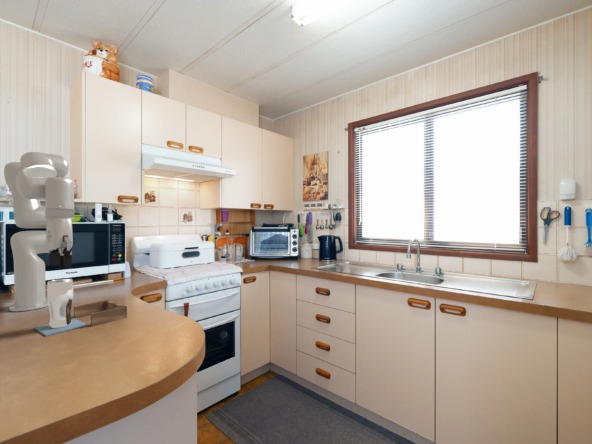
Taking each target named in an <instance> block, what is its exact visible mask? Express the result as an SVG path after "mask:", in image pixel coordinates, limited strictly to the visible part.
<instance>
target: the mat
mask: <svg viewBox="0 0 592 444" xmlns="http://www.w3.org/2000/svg"><path fill="white" fill-rule="evenodd" d="M71 319H72V324H71V325H69V326H67V327H63V328H57V329H50V328H49V323H48V324H42V325H39V326H35V327H33V328H34V329H35V330H36V331H37V332H39V333H40V334H41V335H43V336H44V337H49V336H53V335H58V334H62V333H65V332H68V331H69V332H70V331H72V330H77V329H81V328H84V327H88V326H89V325H88V323H86V322H83V321H81V320H80V319H78V318H74V317H73V318H71Z"/></svg>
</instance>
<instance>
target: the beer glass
mask: <svg viewBox="0 0 592 444" xmlns="http://www.w3.org/2000/svg"><path fill="white" fill-rule="evenodd" d="M73 280H74V279H72V278H60V279H53V280H49V281H46V283H47V285H46V300H47V302H48V306H47V307H48V310H49V314H50V315H49V316H50V318H49V323H48V324H49V328H50V329H57V328H63V327H67V326H69V325H71V324H72V319H73V318H72V312H71V311H72V306H73V301H74V300H73V299H74V296H75V295H74V291H75V290H74V281H73Z"/></svg>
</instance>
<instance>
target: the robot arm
mask: <svg viewBox="0 0 592 444" xmlns="http://www.w3.org/2000/svg"><path fill="white" fill-rule="evenodd" d="M69 167H70V166H69V163H68V161H67V159H66V158H65V157H64V156H62V155H60V154H51V153H45V152H39V151H29V152H28V151H27V152H25V153H23V154H22V155H21V156H20V159H19V161H14V162H13V161H12V162H9V163H6V164H5V165H4V169H3V176H4V180H5V183H6V185H7V188H8V189H9V191H10V193H11V196H12V210H13V219H14V220H13V221H14V223H15V225H16V227H18V228H21V229H45V230H25V231H24V230H23V231H19V232H16V233H14V234H12V236H11V237H10V247H11V250H12V251H11V252H12V258H13V276H14V277H13V279H14V280H13V281H14V282H13V289H14V290H13V291H14V293H13V294H14V297H13V298H14V299H13V300H14V301H13V303H14V305H13V304H12V305H11V306H9V307H8V311H10V312H25V311H32V310H37V309H38V310H39V309H43V308H46V307H48V302H47V292H46V264H45V263H46V262H45V261H44V260H43V259H42V258H41V257H40V256H38V254H46V253H47V254H48V265H50V266H57V265H58V268H59V269H67V268H68V269H69V268H72V267H73V265H72V264H73V263H72V262H73V259H72V258H73V252H72V250H73V244H74V243H73V241H74V239H73V224H72V223H73V222H72V220H75V182H74V180H73V179H71V178H68V177H66V176H67V174H68V172H69ZM41 201H44V205H42V204H41Z"/></svg>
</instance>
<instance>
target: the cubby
mask: <svg viewBox="0 0 592 444" xmlns="http://www.w3.org/2000/svg"><path fill="white" fill-rule="evenodd" d="M87 316H90V327H94V326H99V325H103V324H107V323H111V322H114V321H118V320H122V319H125V318H127V317H128V307H127V306H126V305H124V304H121V303H117V302H115V301H112V300H108V299H106V300H105V299H104V300H101V301H96V302H92V303H91V302H90V303H86V304H80V305H78V306H77V305H76V306H74V307H73V318H75V319H78V318H82V317H87Z"/></svg>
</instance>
